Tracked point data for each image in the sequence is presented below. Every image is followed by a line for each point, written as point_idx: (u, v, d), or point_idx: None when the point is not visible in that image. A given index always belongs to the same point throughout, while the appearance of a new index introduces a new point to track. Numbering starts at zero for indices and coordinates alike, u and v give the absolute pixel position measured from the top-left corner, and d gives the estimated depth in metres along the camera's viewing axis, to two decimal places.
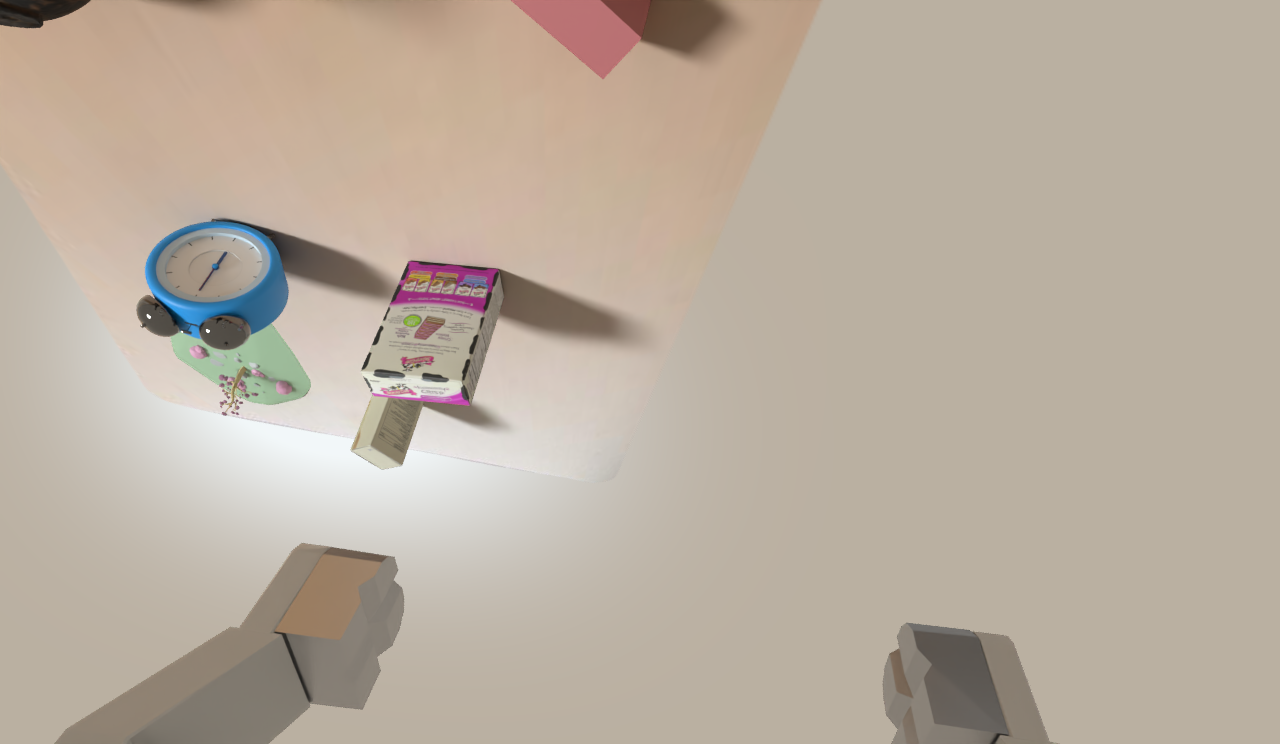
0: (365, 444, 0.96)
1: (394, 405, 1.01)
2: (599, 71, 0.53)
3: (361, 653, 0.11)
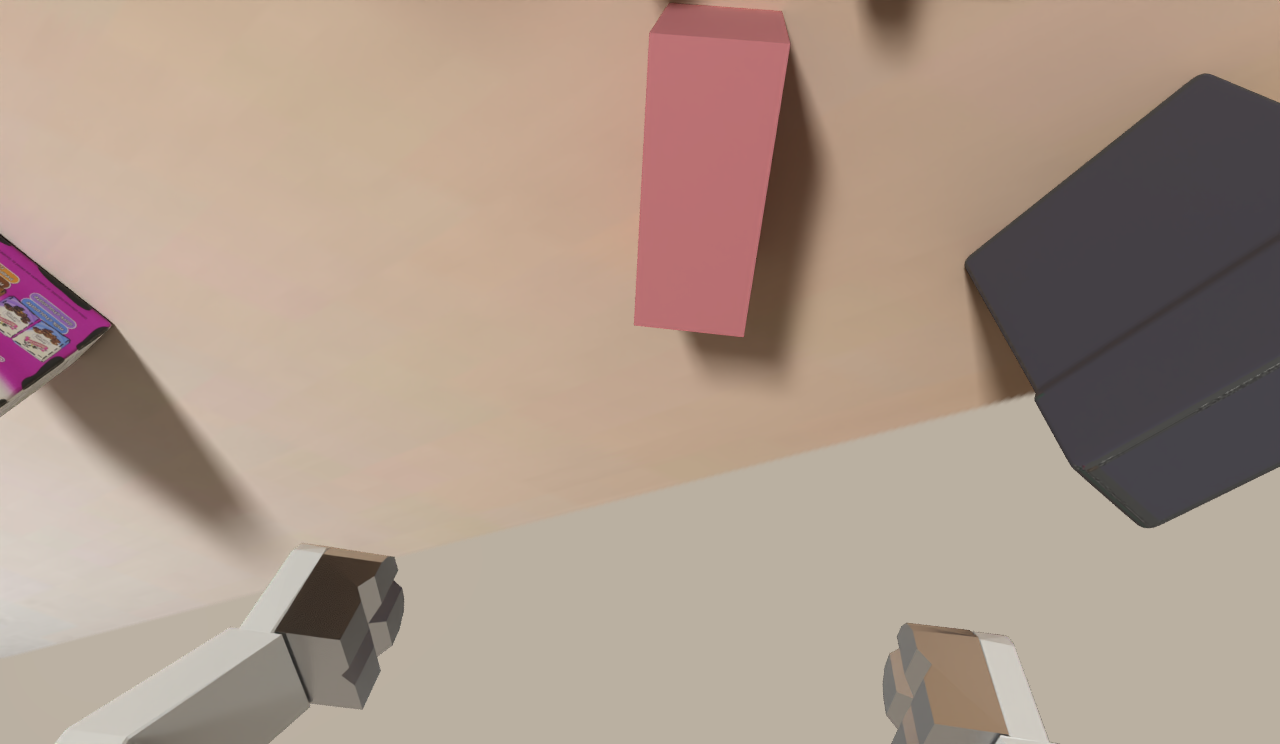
0: None
1: None
2: (641, 313, 0.29)
3: (361, 653, 0.11)
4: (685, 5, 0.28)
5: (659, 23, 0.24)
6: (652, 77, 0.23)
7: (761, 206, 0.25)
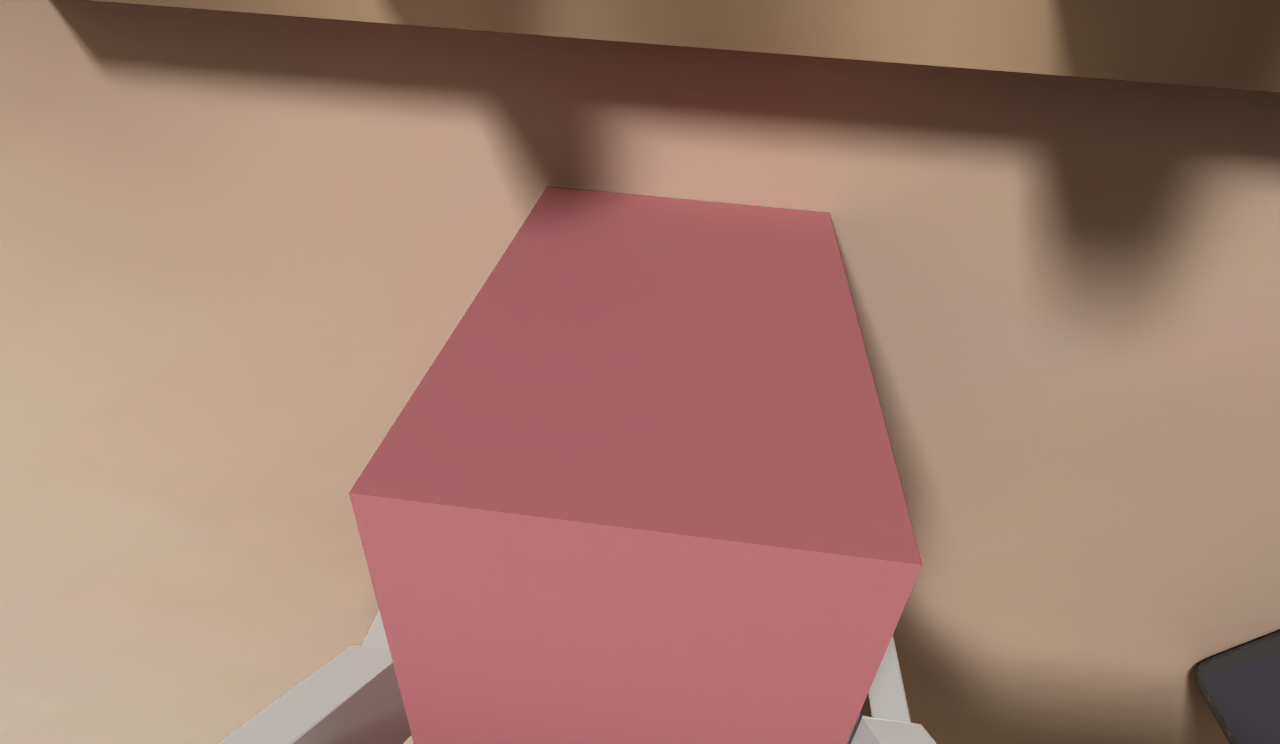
0: None
1: None
2: None
3: None
4: (583, 202, 0.11)
5: (446, 363, 0.07)
6: (395, 602, 0.06)
7: None
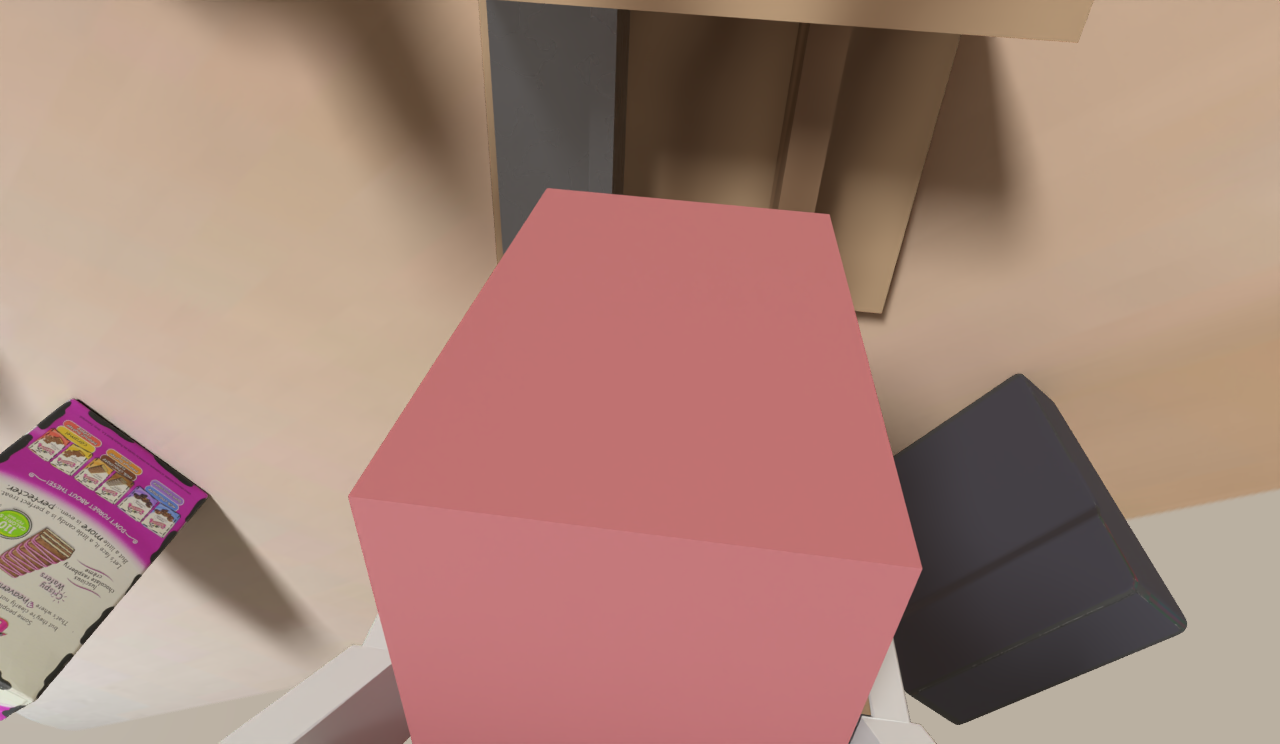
0: None
1: None
2: None
3: None
4: (583, 203, 0.11)
5: (445, 366, 0.07)
6: (394, 605, 0.06)
7: None
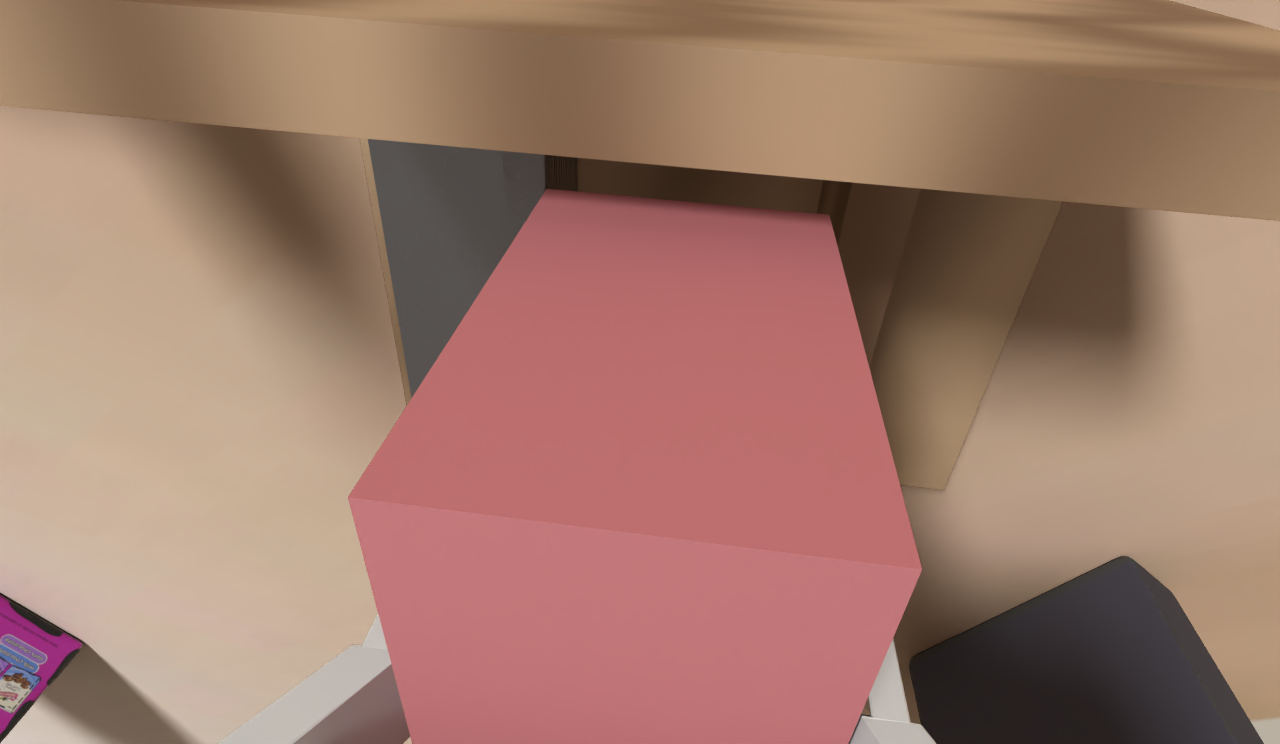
0: None
1: None
2: None
3: None
4: (583, 204, 0.11)
5: (445, 366, 0.07)
6: (394, 606, 0.06)
7: None
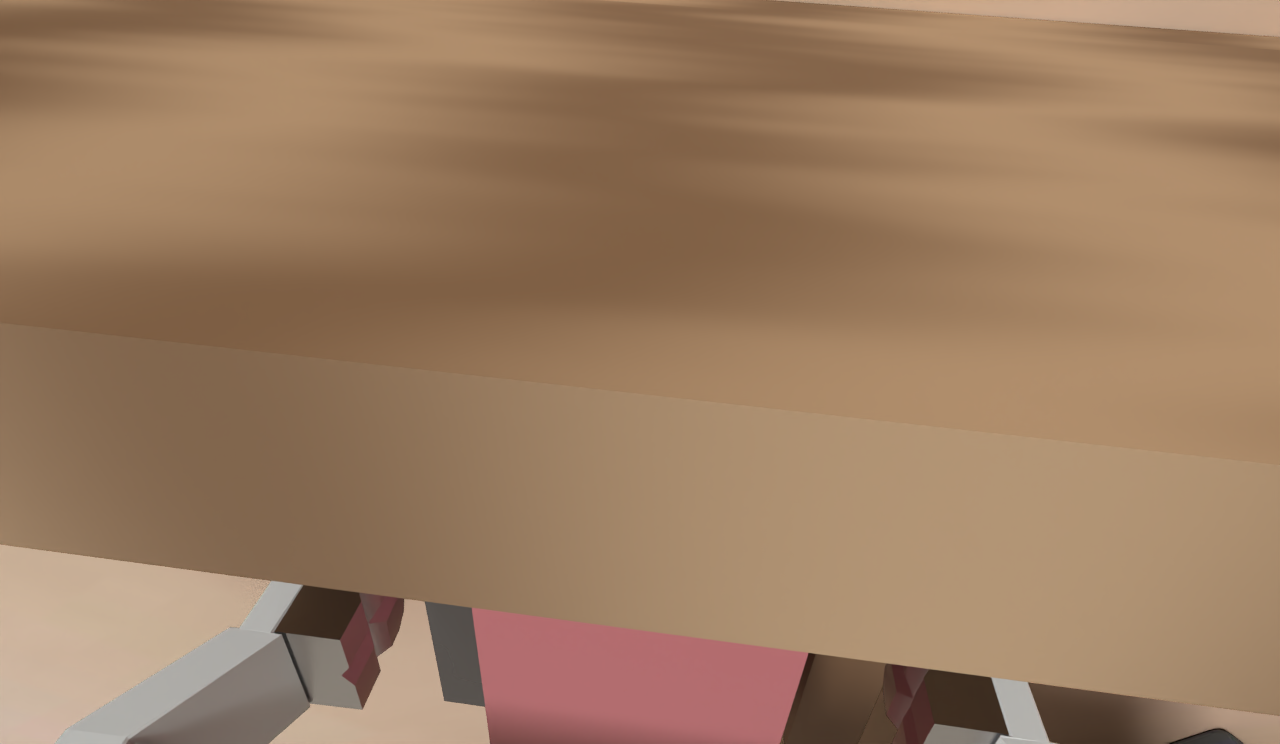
0: None
1: None
2: None
3: (361, 653, 0.11)
4: None
5: None
6: None
7: (782, 710, 0.10)
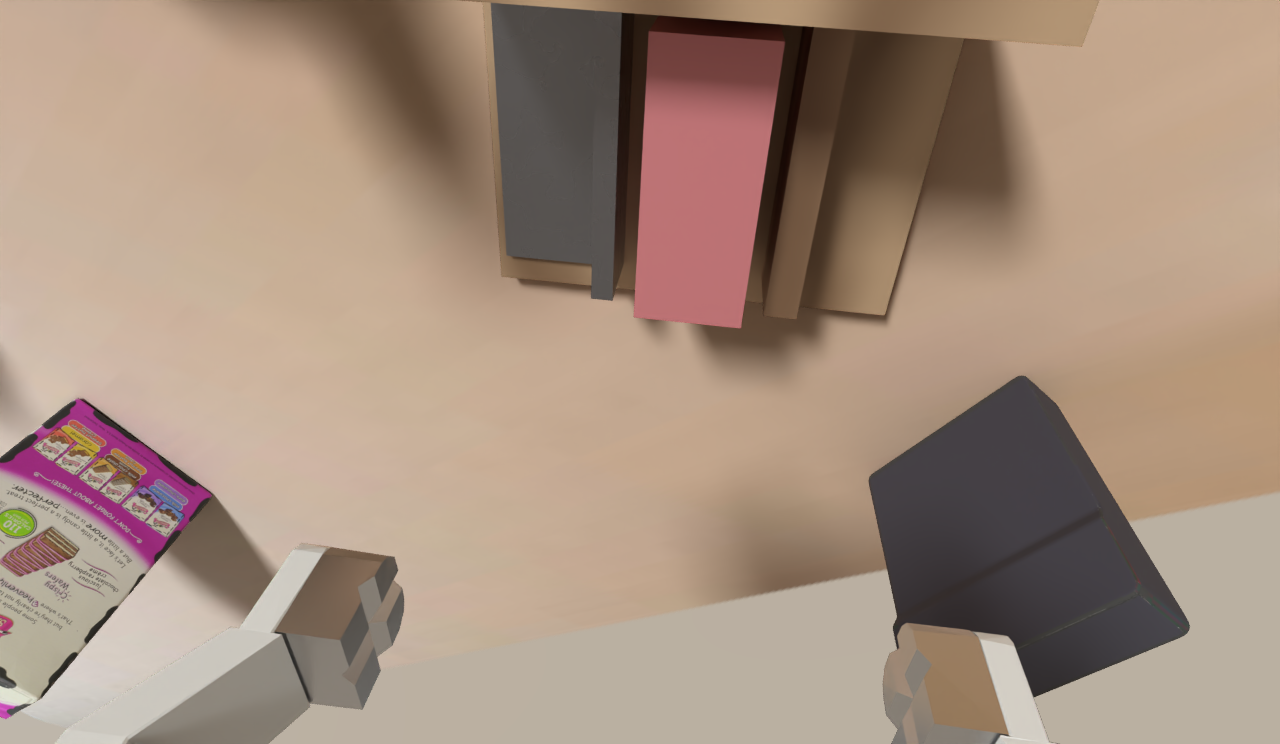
0: None
1: None
2: (641, 306, 0.29)
3: (361, 653, 0.11)
4: None
5: (658, 22, 0.25)
6: (651, 74, 0.24)
7: (757, 200, 0.26)
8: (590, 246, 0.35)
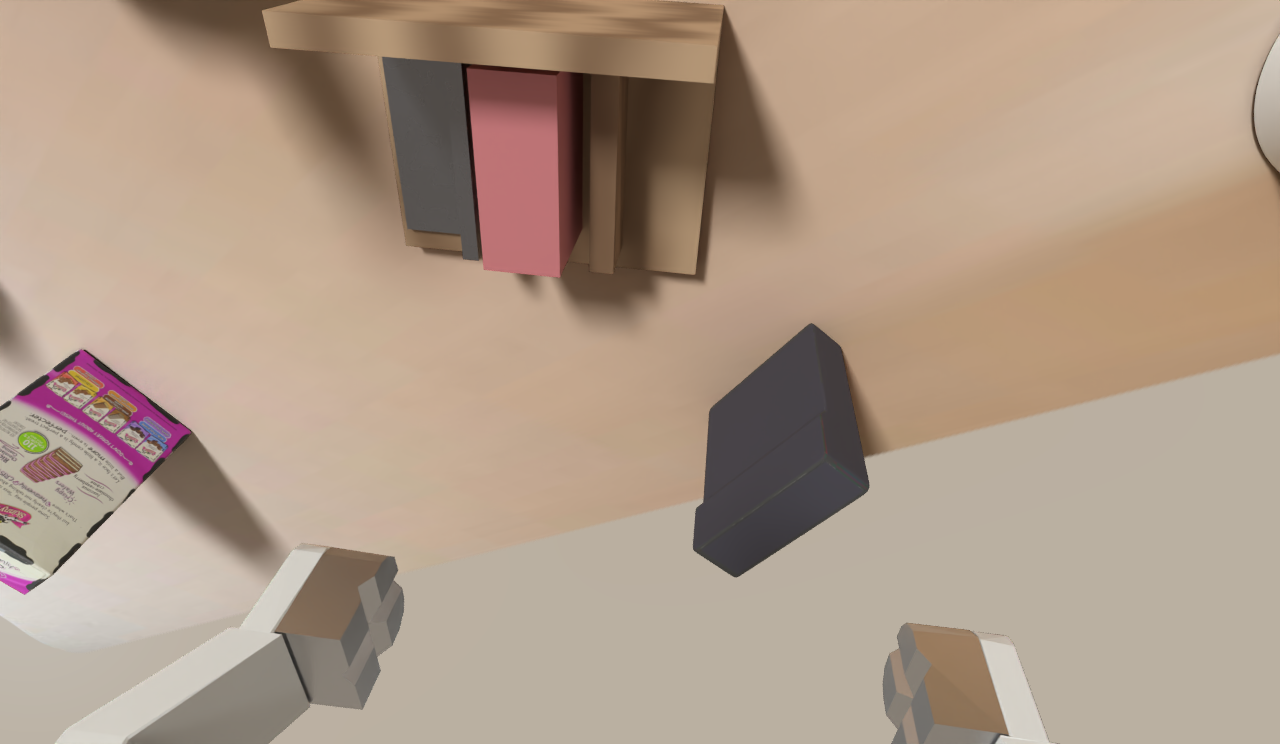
0: None
1: None
2: (488, 261, 0.41)
3: (361, 653, 0.11)
4: None
5: None
6: (472, 97, 0.35)
7: (556, 183, 0.38)
8: None
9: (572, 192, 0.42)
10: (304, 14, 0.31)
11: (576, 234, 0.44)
